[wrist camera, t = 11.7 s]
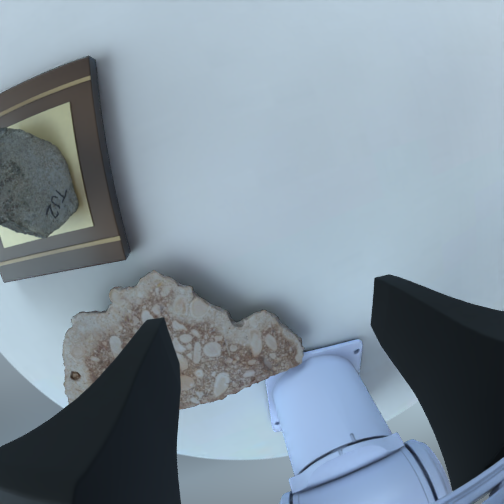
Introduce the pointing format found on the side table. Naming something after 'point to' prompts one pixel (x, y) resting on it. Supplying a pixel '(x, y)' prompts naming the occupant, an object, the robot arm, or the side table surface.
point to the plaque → (80, 167)
